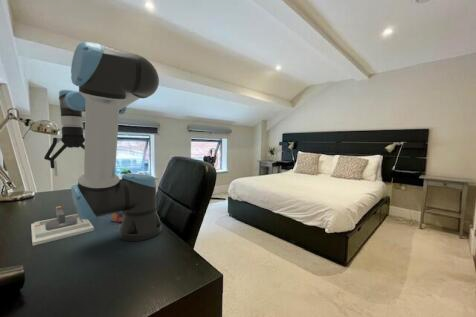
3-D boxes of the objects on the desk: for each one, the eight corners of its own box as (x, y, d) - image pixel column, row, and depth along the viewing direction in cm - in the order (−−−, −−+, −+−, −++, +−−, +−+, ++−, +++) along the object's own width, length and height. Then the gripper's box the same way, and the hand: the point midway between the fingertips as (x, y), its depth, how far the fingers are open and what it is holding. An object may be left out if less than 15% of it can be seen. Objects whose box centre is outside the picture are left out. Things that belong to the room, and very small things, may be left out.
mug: (112, 225, 92) (111, 201, 91) (108, 218, 99) (106, 196, 98) (141, 218, 100) (140, 196, 99) (135, 213, 107) (134, 192, 106)
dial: (79, 225, 88) (78, 212, 87) (46, 232, 81) (45, 218, 80) (73, 215, 99) (72, 204, 98) (44, 221, 92) (43, 209, 91)
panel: (94, 230, 87) (93, 223, 86) (32, 245, 74) (31, 237, 74) (83, 216, 102) (83, 210, 102) (31, 226, 90) (30, 220, 89)
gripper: (102, 127, 107) (105, 170, 109) (33, 125, 89) (37, 176, 91) (106, 127, 101) (109, 171, 103) (33, 124, 84) (38, 178, 86)
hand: (75, 174), depth 97 cm, fingers open, 13 cm apart
